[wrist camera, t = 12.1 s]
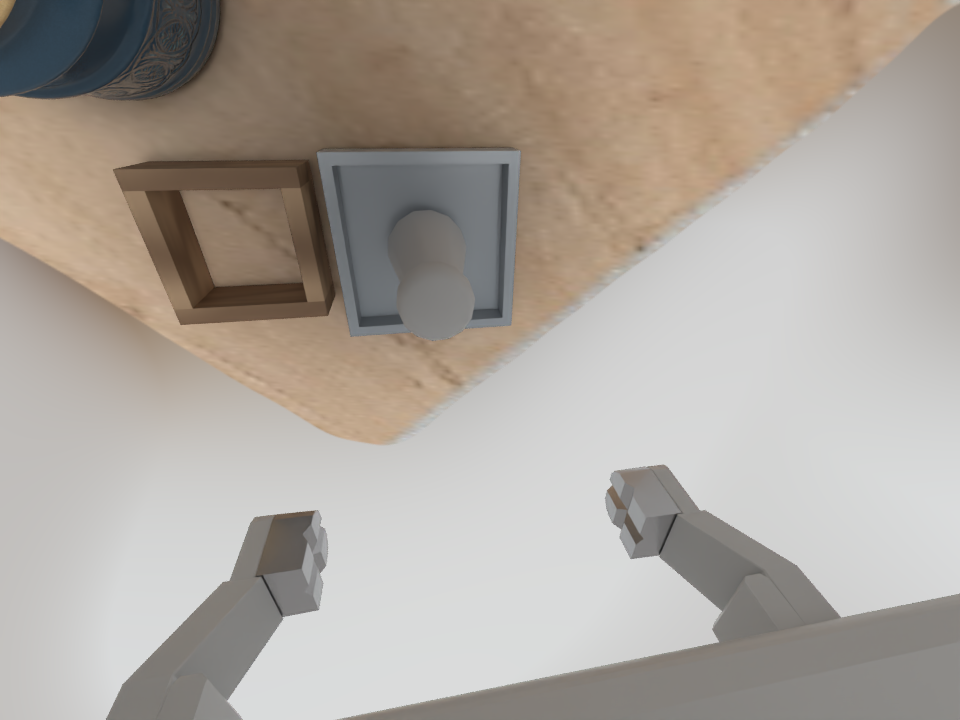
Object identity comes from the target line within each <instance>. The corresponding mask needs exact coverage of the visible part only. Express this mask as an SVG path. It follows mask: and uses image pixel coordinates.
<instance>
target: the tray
mask: <svg viewBox="0 0 960 720" xmlns="http://www.w3.org/2000/svg"><path fill="white" fill-rule="evenodd" d="M316 153H317V159H318V164H319V169H320V175H321V180H322V185H323V191H324V196H325V201H326V207H327V212H328V217H329V223H330V228H331V233H332V239H333V244H334V250H335V255H336V260H337V266H338V271H339V276H340V282H341V287H342V292H343V298H344V303H345V308H346V314H347V319H348V324H349V330H350V335H351V337H352V336H366V335H381V334H395V333H410V332H411V331H410V330H408V329H407V328H406V327H405V326H404V324H403V322H402V319H401V317H400V315H399V312H398V310H397V307H396V305H397V289H398V286H399V284H400V281H399V279H398V277H397V275H396V273H395V271H394V269H393V266H392V264H391V261H390V259H389V257H388V237H389V235H390V234H391V232H392V230H393V229H394V227H395V225H396V224H397V222H398V221H399V220H401V219H402V218H404V217H405V216H407V215H408V214H410V213H411V212H413V211H423V210H433V211H435V212H438V213H441V214H444V215H446V216H449V217H450V218H451V219H452V221H453V222H454V223H455V224H456V225H457V226H458V227H459V228H460V230H461V232H462V235H463V238H464V241H465V244H466V254H465V262H464V270H463V275H464V276H465V277H466V278H467V279H468V280H469V282H470V285H471V288H472V291H473V294H474V297H475V304H474V309H473V314H472V319H471V320H470V321H469V323H468V324H467V326H466V327H465V328H464V329H468V328H482V327H496V326H511V321H512V302H513V284H514V266H515V248H516V229H517V211H518V193H519V175H520V156H521V151H520V150H517V149H515V148H369V149H321V150H319V151H318V152H316Z"/></svg>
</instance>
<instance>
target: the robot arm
mask: <svg viewBox="0 0 960 720" xmlns="http://www.w3.org/2000/svg"><path fill="white" fill-rule="evenodd" d="M610 481H611V483H612V486H611V487H610V488H609V489H608V490H607V493H606V498H605V499H606V508H607V511H608V514H609V517H610V519H611V521H612V523H613V524H614V525H616V526H617V527H619V528H620V529H621V533H620V539H621V541H622V543H623V545H624V547H625V549H626V551H627V553H628V555H629V556H630V558H631V559H634V558H642V557H649V556H657V555H660V558H661V559H662V560H664V561H665V562H666V563H667V564H668V565H669V566H671V567H672V568H673V569H674V570H675V571H676V572H677V573H679V574H680V575H681V576H682V577H683V578H684V579H686V580H687V581H688V582H689V583H690V584H691V585H693V586H694V587H695V588H696V589H697V590H698V591H700V592H701V593H702V594H703V595H704V596H705V597H707V598H708V599H709V600H710V601H711V602H712V603H713V604H715V605H716V606H717V607H718V608H719V609H720V610H722V612H721V614H720V615H719V617H718V618H717V620H716V621H715V623H714V625H713V631H714V633H715V635H716V637H717V638H718V640H719V643H714V644H709V645H704V646H699V647H694V648H689V649H684V650H679V651H675V652H669V653H664V654H659V655H655V656H649V657H644V658H640V659H634V660H630V661H624V662H620V663H615V664H610V665H605V666H601V667H595V668H590V669H585V670H580V671H575V672H570V673H565V674H560V675H555V676H551V677H545V678H540V679H535V680H531V681H525V682H520V683H516V684H511V685H506V686H501V687H496V688H491V689H486V690H481V691H476V692H471V693H466V694H461V695H456V696H451V697H446V698H442V699H436V700H431V701H426V702H421V703H417V704H411V705H406V706H402V707H397V708H392V709H387V710H382V711H377V712H372V713H367V714H362V715H358V716H352V717H348V718H342V719H338V720H960V594H956V595H952V596H947V597H942V598H937V599H932V600H927V601H922V602H917V603H912V604H907V605H902V606H897V607H892V608H887V609H882V610H877V611H872V612H867V613H863V614H858V615H852V616H848V617H843V618H841V617H840V616H839V615H838V613H837V612H836V611H835V610H834V609H833V608H832V606H831V605H830V604H829V603H828V602H827V600H826V599H825V598H824V597H823V596H822V595H821V593H820V592H819V591H818V590H817V589H816V588H815V586H814V585H813V584H812V583H811V582H810V581H809V579H808V578H807V577H806V576H805V575H804V573H803V572H802V571H801V570H800V569H799V568H798V567H797V565H795V564H793V563H791V562H790V561H788V560H787V559H785V558H783V557H781V556H780V555H778V554H776V553H775V552H773V551H772V550H770V549H768V548H767V547H765V546H763V545H762V544H760V543H758V542H757V541H755V540H753V539H752V538H750V537H748V536H747V535H745V534H743V533H742V532H740V531H739V530H737V529H735V528H734V527H732V526H730V525H728V524H727V523H725V522H724V521H722V520H720V519H719V518H717V517H715V516H713V515H712V514H710V513H709V512H707V511H705V510H703V511H700V510H699V509H698V507H697V506H696V505H695V503H694V502H693V501H692V499H691V498H690V497H689V495H688V494H687V492H686V491H685V490H684V488H683V487H682V486H681V485H680V483H679V482H678V480H677V479H676V478H675V476H674V475H673V474H672V472H671V471H670V470H669V468H668V467H667V466H665V465H657V466H649V467H639V468H632V469H625V470H618V471H614V472H613V473H612V475H611V478H610ZM320 523H321V516H320V513H319V511H318V510H315V511H306V512H296V513H287V514H277V515H268V516H260V517H255V518H254V519H253V521H252V522H251V523H250V526H249V529H248V531H247V534H246V537H245V540H244V542H243V545H242V548H241V551H240V553H239V556H238V559H237V562H236V565H235V567H234V570H233V573H232V576H231V579H230V581H227V582H223V583H222V584H221V585H220V586H219V587H218V588H217V589H216V590H215V591H214V592H213V593H212V594H211V595H210V596H209V597H208V598H207V599H206V600H205V601H204V602H203V603H202V604H201V605H200V606H199V607H198V608H197V609H196V610H195V611H194V612H193V613H192V614H191V615H190V616H189V618H187V620H186V621H184V623H183V624H182V625H181V626H180V627H179V628H178V629H177V630H176V631H175V632H174V633H173V634H172V635H171V636H170V637H169V638H168V639H167V640H166V641H165V642H164V643H163V644H162V645H161V646H160V647H159V648H158V649H157V650H156V651H155V652H154V653H153V654H152V655H151V656H150V657H149V658H148V659H147V661H145V663H143V664H142V665H141V666H140V667H139V669H137V670H136V672H134V673H133V675H132V676H131V677H130V678H129V679H128V680H127V681H126V682H125V683H124V684H123V685H122V687H121V689H120V692H119V693H118V696H117V698H116V700H115V702H114V704H113V706H112V708H111V710H110V712H109V715H108V717H107V718H106V720H242V718H241V716H240V715H239V714H238V713H237V712H236V711H235V709H234V708H233V707H232V706H231V705H230V704H229V703H228V702H227V700H228V699H229V697H230V696H231V694H232V693H233V691H234V690H235V688H236V687H237V685H238V684H239V683H240V681H241V679H242V678H243V677H244V675H245V674H246V672H247V671H248V669H249V668H250V667H251V665H252V664H253V662H254V661H255V659H256V658H257V656H258V655H259V653H260V652H261V650H262V649H263V648H264V646H265V645H266V643H267V642H268V640H269V639H270V637H271V636H272V634H273V633H274V632H275V630H276V629H277V627H278V626H279V624H280V623H281V621H282V620H283V618H282V617H285V616H290V615H295V614H300V613H306V612H311V611H316V610H319V606H320V600H321V594H322V588H323V581H322V579H321V576H320V573H321V571H322V570H323V569H324V568H325V566H326V562H327V554H328V541H327V534H326V531H325V529H324V528H323V527H321V526H320Z"/></svg>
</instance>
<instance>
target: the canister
mask: <svg viewBox="0 0 960 720" xmlns="http://www.w3.org/2000/svg"><path fill="white" fill-rule="evenodd" d="M219 20H220V0H0V97H5V96H12V95H14V96H19V97H26V98H35V99H63V98H71V97H76V96H81V95H85V96H92V97H97V98H102V99H109V100H121V101H122V100H146V99H152V98H156V97H160V96H163V95H166V94H168V93H170V92H172V91H174V90H176V89H178V88H179V87H181V86H182V85H184V84H185V83H187V82H188V81H190V80H191V79H192V78H193V77H194V76H195V75H197V73H198V72H199V71H200V70H201V69H202V67H203V66H204V65H205V63H206V62H207V60H208V58H209V56H210V54H211V52H212V50H213V47H214V44H215V41H216V37H217V33H218V28H219Z"/></svg>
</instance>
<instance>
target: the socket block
mask: <svg viewBox="0 0 960 720" xmlns="http://www.w3.org/2000/svg"><path fill="white" fill-rule="evenodd" d="M113 171H114V173H115V176H116V178H117V180H118V183H119V185H120V187H121V189H122V192H123V194H124V196H125V199H126V201H127V203H128V205H129V208H130V210H131V212H132V215H133V217H134V219H135V222H136V224H137V226H138V228H139V231H140V233H141V235H142V238H143V240H144V242H145V244H146V247H147V249H148V251H149V254H150V256H151V258H152V260H153V263H154V265H155V267H156V270H157V272H158V274H159V276H160V279H161V281H162V283H163V286H164V288H165V290H166V293H167V295H168V297H169V299H170V302H171V304H172V306H173V309H174V311H175V313H176V315H177V318H178V320H179V322H180V325H187V324H203V323H220V322H236V321H252V320H268V319H284V318H301V317H317V316H328V314H329V311H330V308H331V305H332V303H333V300H334V297H335V292H334V287H333V282H332V277H331V271H330V266H329V261H328V256H327V251H326V246H325V241H324V236H323V231H322V226H321V221H320V216H319V211H318V206H317V201H316V196H315V191H314V186H313V181H312V176H311V171H310V165H309V160H261V161H156V162H144V163H140V164H135V165H131V166H126V167H122V168H117V169H113ZM275 188H280V189H281V193H282V197H283V201H284V205H285V210H286V214H287V218H288V222H289V226H290V230H291V235H292V239H293V243H294V247H295V251H296V255H297V260H298V264H299V268H300V272H301V276H302V281H303V283H292V284H273V285H253V286H233V287H214V285H213V282H212V279H211V276H210V274H209V271H208V268H207V266H206V263H205V260H204V257H203V255H202V252H201V249H200V246H199V244H198V241H197V238H196V235H195V233H194V230H193V227H192V225H191V222H190V219H189V216H188V214H187V211H186V208H185V205H184V203H183V200H182V197H181V194H180V192H179V190H222V189H275Z"/></svg>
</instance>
